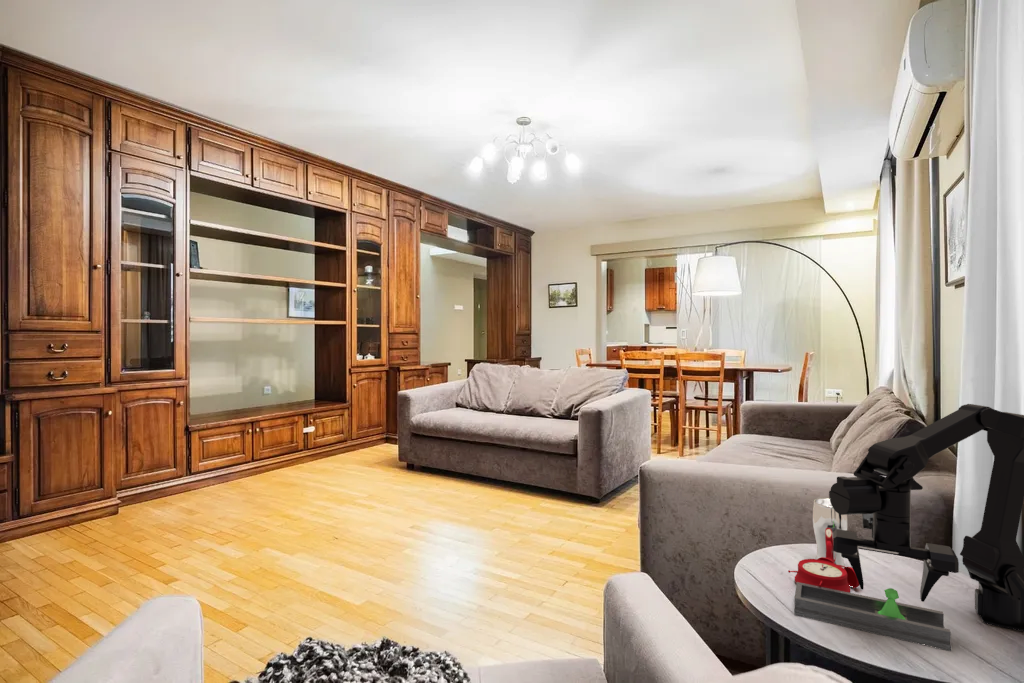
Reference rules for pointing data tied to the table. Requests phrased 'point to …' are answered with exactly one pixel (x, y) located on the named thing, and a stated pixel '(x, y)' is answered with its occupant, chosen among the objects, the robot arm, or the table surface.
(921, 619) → the track
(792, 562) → the table surface
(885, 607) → the game piece
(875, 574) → the table surface
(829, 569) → the alarm clock
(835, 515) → the beer glass
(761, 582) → the table surface
